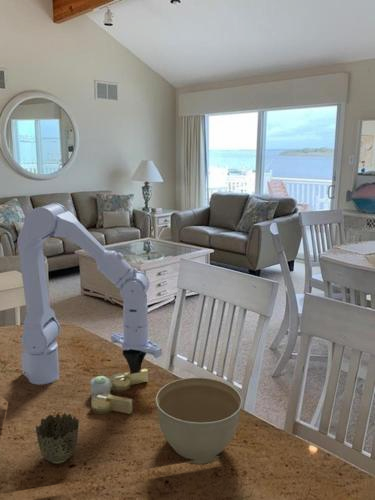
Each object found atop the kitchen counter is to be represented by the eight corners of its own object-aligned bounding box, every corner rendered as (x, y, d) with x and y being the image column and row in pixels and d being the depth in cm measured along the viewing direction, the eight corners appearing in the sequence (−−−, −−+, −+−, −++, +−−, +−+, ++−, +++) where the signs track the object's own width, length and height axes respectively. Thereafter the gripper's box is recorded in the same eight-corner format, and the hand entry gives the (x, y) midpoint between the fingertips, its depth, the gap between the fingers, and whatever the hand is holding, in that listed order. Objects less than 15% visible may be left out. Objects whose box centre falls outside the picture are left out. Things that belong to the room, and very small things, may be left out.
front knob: (87, 411, 99) (86, 398, 98) (98, 400, 103) (98, 388, 103) (126, 419, 96) (125, 406, 95) (135, 407, 100) (135, 394, 100)
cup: (69, 480, 80) (67, 439, 78) (30, 474, 81) (27, 433, 80) (87, 453, 87) (85, 415, 85) (51, 448, 89) (48, 410, 87)
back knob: (113, 393, 106) (112, 381, 106) (107, 384, 110) (107, 372, 110) (150, 385, 110) (150, 373, 109) (143, 376, 114) (143, 365, 114)
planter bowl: (162, 484, 79) (162, 427, 77) (151, 429, 95) (150, 381, 92) (252, 472, 82) (254, 417, 80) (227, 421, 98) (228, 374, 95)
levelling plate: (48, 400, 106) (47, 376, 104) (109, 375, 117) (108, 354, 116) (90, 431, 94) (89, 405, 93) (153, 400, 106) (153, 377, 105)
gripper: (101, 321, 110) (103, 374, 113) (148, 336, 102) (148, 392, 105) (122, 313, 115) (122, 363, 118) (167, 326, 107) (167, 380, 110)
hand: (136, 376), depth 112 cm, fingers closed, pressing on back knob
